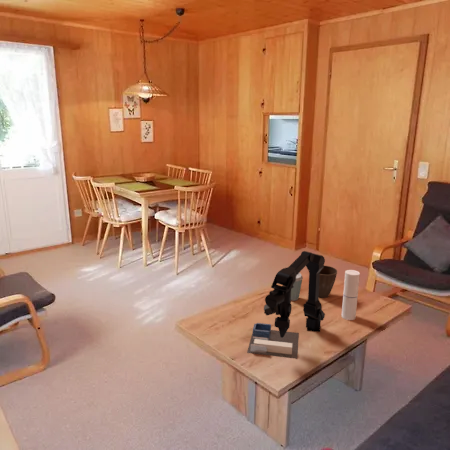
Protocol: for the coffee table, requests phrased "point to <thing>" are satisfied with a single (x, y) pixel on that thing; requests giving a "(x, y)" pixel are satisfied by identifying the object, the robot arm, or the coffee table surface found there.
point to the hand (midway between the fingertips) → (282, 331)
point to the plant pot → (326, 281)
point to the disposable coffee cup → (296, 287)
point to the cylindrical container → (350, 294)
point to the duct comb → (265, 333)
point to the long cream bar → (275, 346)
